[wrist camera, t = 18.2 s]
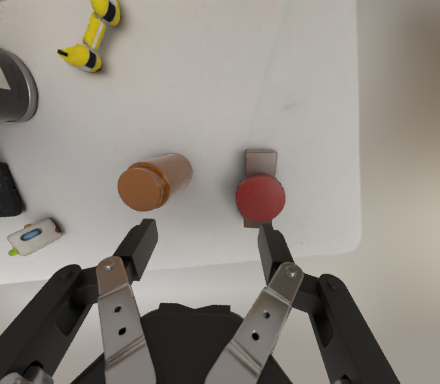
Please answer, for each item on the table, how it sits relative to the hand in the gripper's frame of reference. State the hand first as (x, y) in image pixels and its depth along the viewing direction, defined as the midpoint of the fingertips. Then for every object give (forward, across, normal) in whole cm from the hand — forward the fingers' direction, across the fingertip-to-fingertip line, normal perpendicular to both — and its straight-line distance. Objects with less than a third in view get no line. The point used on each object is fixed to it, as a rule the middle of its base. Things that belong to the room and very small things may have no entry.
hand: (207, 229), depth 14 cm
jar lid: (+8, -6, +2) cm, 10 cm away
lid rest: (+12, -6, +2) cm, 14 cm away
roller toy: (+11, +33, +14) cm, 38 cm away
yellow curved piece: (+18, +15, -15) cm, 28 cm away
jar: (+14, +6, +1) cm, 15 cm away
